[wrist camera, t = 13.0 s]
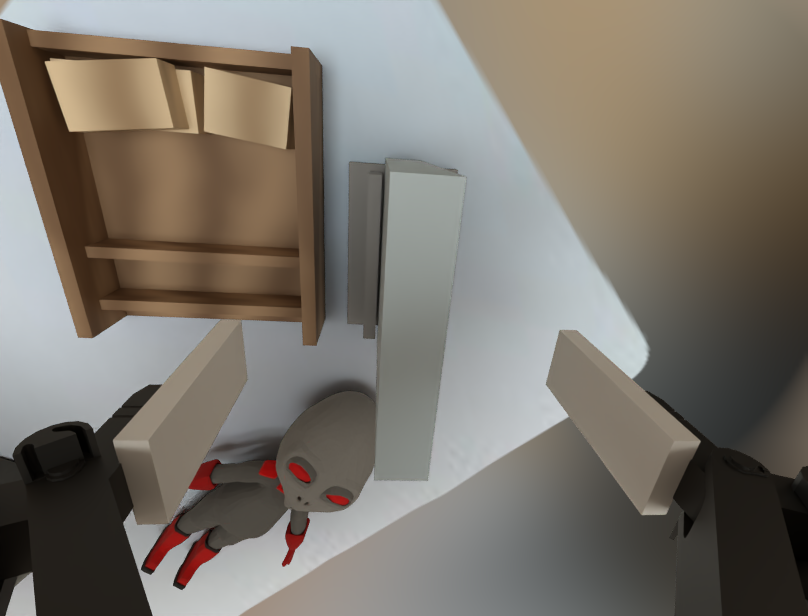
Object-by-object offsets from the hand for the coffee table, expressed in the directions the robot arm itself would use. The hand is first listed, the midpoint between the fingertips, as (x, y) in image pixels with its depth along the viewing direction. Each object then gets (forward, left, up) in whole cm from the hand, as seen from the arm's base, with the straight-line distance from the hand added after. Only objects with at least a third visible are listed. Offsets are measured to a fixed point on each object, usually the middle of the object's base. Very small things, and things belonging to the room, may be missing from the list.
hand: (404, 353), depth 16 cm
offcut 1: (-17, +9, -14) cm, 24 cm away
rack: (-14, +3, -17) cm, 22 cm away
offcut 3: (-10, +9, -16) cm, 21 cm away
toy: (-12, -25, -17) cm, 32 cm away
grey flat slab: (0, 0, -16) cm, 16 cm away
